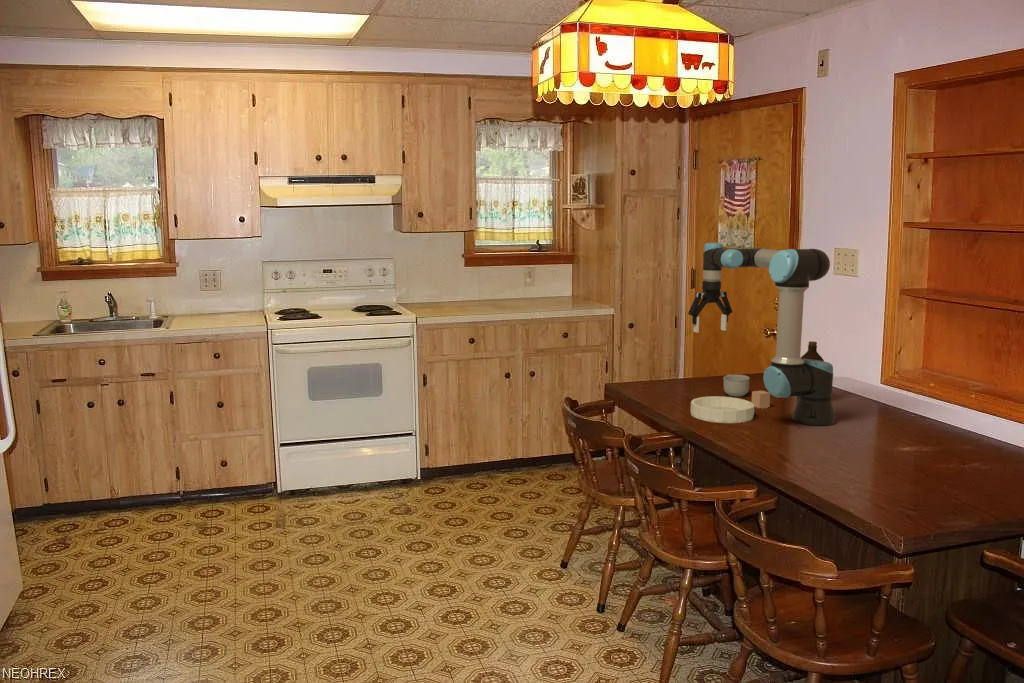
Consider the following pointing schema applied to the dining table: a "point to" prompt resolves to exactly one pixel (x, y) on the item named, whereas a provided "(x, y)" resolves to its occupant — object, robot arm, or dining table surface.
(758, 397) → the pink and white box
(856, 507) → the dining table surface
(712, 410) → the bowl
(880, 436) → the dining table surface
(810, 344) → the olive oil
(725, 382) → the teacup
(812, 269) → the robot arm
